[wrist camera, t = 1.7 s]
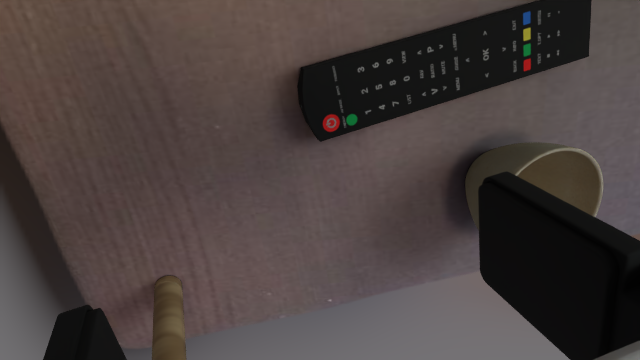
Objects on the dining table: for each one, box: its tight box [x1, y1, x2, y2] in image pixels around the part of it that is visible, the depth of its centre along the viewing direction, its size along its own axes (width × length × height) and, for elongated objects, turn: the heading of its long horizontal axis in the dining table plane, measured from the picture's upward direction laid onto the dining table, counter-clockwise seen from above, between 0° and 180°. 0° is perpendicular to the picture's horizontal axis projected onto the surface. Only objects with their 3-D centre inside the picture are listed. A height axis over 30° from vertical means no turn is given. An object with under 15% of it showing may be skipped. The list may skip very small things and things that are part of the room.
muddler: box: [152, 276, 186, 360], centre depth 29 cm, size 2×2×13 cm
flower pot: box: [465, 143, 603, 230], centre depth 37 cm, size 10×10×7 cm
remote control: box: [298, 0, 591, 142], centre depth 34 cm, size 5×24×1 cm, turn 102°
